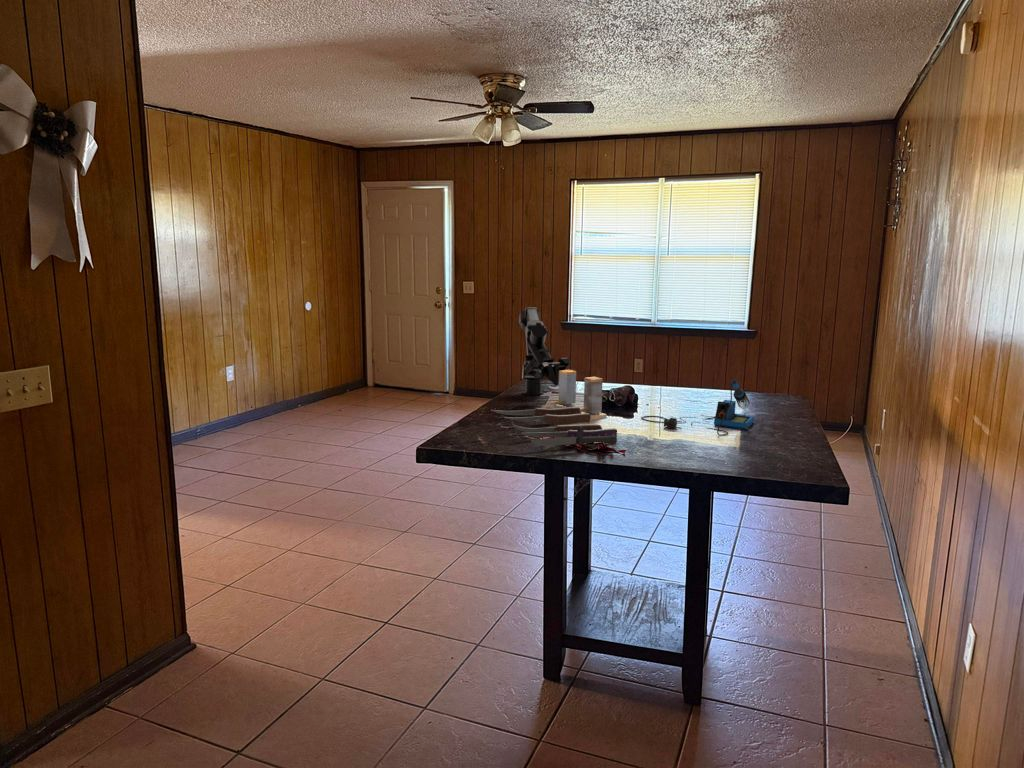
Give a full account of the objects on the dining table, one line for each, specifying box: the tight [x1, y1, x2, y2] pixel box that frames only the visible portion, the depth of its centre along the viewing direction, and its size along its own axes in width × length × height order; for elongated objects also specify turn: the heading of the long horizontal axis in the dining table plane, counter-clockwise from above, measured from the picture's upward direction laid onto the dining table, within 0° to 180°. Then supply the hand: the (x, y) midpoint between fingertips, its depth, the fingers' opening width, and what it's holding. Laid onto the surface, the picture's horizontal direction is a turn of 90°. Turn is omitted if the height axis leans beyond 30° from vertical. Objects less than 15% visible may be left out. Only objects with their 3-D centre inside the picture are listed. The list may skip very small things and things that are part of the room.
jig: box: [540, 376, 607, 421], centre depth 249 cm, size 23×11×14 cm, turn 35°
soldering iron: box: [640, 379, 755, 436], centre depth 238 cm, size 35×31×18 cm
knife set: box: [491, 407, 618, 447], centre depth 219 cm, size 35×33×8 cm
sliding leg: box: [549, 369, 577, 406], centre depth 253 cm, size 4×10×12 cm, turn 125°
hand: (557, 384), depth 259 cm, fingers closed
